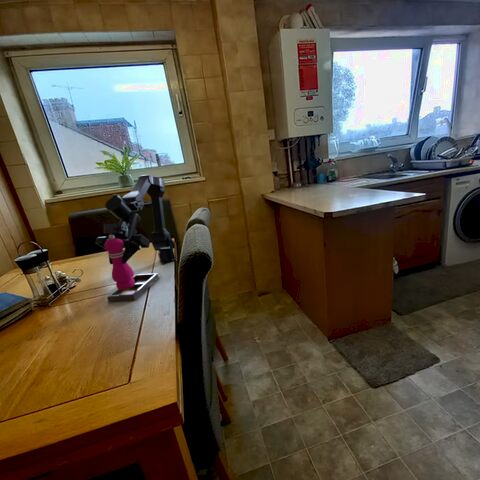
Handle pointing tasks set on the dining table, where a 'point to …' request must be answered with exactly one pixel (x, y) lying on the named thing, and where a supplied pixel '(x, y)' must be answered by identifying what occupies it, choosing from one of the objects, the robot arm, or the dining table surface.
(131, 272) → the pepper mill
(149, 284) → the stand
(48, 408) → the dining table surface
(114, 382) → the dining table surface
